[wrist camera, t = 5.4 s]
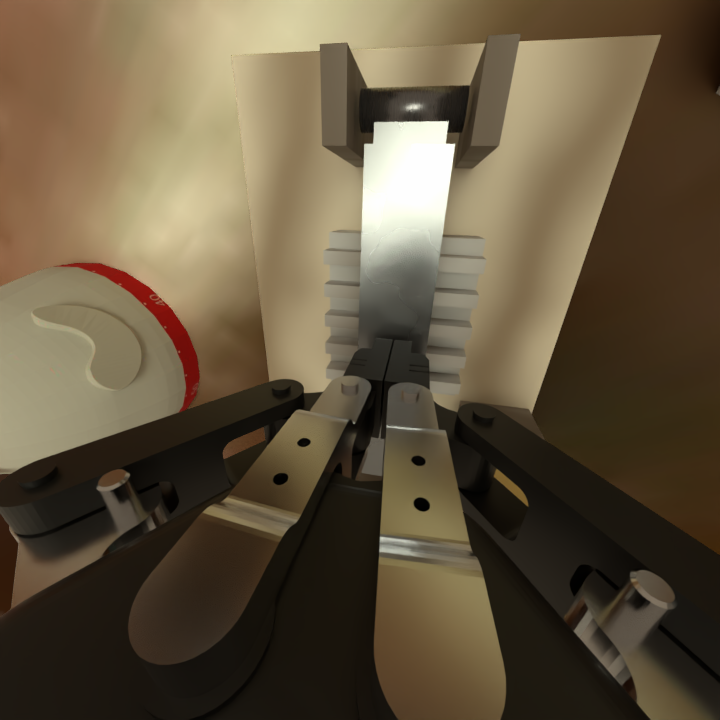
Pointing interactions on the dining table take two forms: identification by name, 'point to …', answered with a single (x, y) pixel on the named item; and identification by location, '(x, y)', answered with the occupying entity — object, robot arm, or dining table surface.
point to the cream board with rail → (464, 204)
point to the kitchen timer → (86, 360)
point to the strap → (403, 213)
